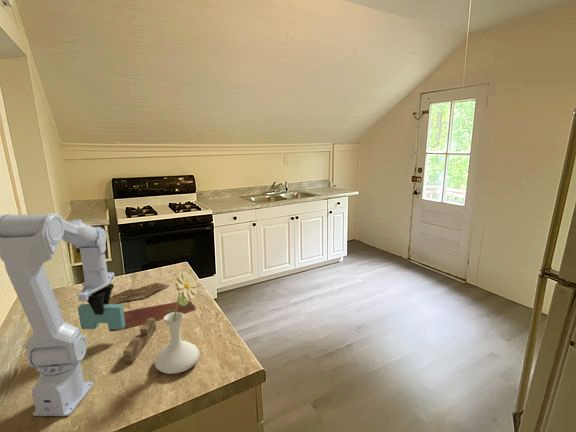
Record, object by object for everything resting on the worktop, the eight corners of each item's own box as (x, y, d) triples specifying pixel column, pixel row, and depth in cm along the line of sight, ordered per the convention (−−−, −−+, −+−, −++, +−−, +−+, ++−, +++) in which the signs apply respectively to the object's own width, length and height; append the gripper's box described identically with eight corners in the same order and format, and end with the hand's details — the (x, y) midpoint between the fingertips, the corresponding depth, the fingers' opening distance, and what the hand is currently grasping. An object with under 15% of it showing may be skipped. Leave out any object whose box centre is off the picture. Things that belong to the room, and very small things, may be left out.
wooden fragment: (164, 281, 135) (164, 279, 135) (173, 291, 127) (173, 289, 126) (93, 300, 120) (93, 298, 119) (98, 313, 111) (98, 310, 111)
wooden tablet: (110, 334, 100) (109, 329, 100) (110, 318, 109) (109, 313, 108) (197, 313, 112) (197, 308, 112) (191, 300, 121) (191, 296, 120)
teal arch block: (125, 325, 97) (122, 304, 95) (122, 329, 95) (119, 307, 93) (85, 325, 97) (81, 303, 95) (81, 329, 95) (77, 307, 93)
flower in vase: (174, 385, 79) (165, 291, 73) (145, 367, 85) (135, 279, 79) (213, 355, 90) (208, 271, 84) (185, 341, 96) (178, 262, 90)
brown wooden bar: (132, 364, 86) (130, 351, 85) (124, 364, 86) (122, 351, 85) (156, 329, 102) (154, 317, 101) (149, 329, 102) (148, 317, 101)
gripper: (95, 258, 98) (101, 299, 102) (63, 279, 84) (71, 325, 87) (118, 258, 98) (124, 299, 102) (90, 279, 84) (98, 325, 87)
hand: (101, 311), depth 95 cm, fingers closed on teal arch block, 2 cm apart
